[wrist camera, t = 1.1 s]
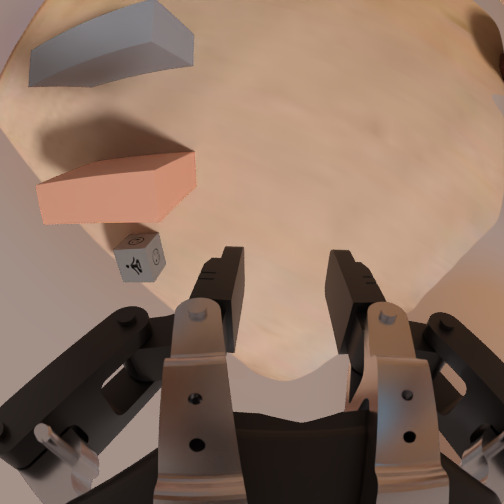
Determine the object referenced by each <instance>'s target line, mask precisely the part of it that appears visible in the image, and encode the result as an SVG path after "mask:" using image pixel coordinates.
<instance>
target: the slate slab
mask: <svg viewBox="0 0 504 504" xmlns="http://www.w3.org/2000/svg"><path fill="white" fill-rule="evenodd" d="M193 52H194V34H193V33H192V32H191V31H190V30H189V29H188V28H187V27H186V26H185V25H184V24H182V23H181V22H180V21H179V20H178V19H177V18H176V17H175V16H174V15H173V14H172V13H171V12H169V11H168V10H167V9H166V8H165V7H164V6H163V5H162V4H160V3H159V2H158V1H157V0H147V1H143V2H140V3H136V4H133V5H130V6H127V7H124V8H121V9H118V10H115V11H112V12H109V13H106V14H104V15H101V16H99V17H96V18H94V19H91V20H89V21H87V22H84V23H82V24H80V25H78V26H76V27H73V28H71V29H69V30H67V31H65V32H63V33H61V34H59V35H57V36H55V37H54V38H52V39H50V40H48V41H46V42H45V43H43V44H41V45H39V46H38V47H36V48H34V49H33V50H31V58H30V69H29V87H48V86H67V87H95V86H98V85H101V84H105V83H108V82H112V81H116V80H120V79H124V78H128V77H132V76H137V75H141V74H146V73H151V72H156V71H162V70H168V69H175V68H182V67H189V66H193Z"/></svg>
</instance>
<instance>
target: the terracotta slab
mask: <svg viewBox="0 0 504 504" xmlns="http://www.w3.org/2000/svg"><path fill="white" fill-rule="evenodd" d="M196 187H197V184H196V165H195V151H194V152H177V153H163V154H152V155H142V156H132V157H124V158H116V159H109V160H102V161H96V162H93V163H90V164H87V165H84V166H82V167H79V168H76V169H74V170H71V171H69V172H66V173H64V174H61V175H59V176H56V177H54V178H51V179H49V180H47V181H44V182H42V183H40V184H38V185H36V190H37V195H38V201H39V206H40V210H41V215H42V219H43V223H44V225H45V224H75V223H129V222H161V221H162V220H163V219H164V218H165V217H166V216H167V215H168V214H169V213H170V212H171V211H172V210H173V209H174V208H175V207H176V206H177V205H178V204H179V203H180V202H181V201H182V200H183V199H184V198H185V197H186V196H187V195H188V194H189V193H190V192H191V191H192V190H193V189H195V188H196Z"/></svg>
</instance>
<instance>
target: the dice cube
mask: <svg viewBox="0 0 504 504" xmlns="http://www.w3.org/2000/svg"><path fill="white" fill-rule="evenodd" d="M113 251H114V255H115V258H116V261H117V264H118V267H119V270H120V273H121V276H122V279H123V282H155V280H156V279H157V277H158V276H159V274H160V273H161V271H162V270H163V268H164V267H165V265H166V261H165V257H164V253H163V249H162V245H161V240H160V236H159V233H147V234H134V235H128V236H127V237H126V238H125V239H124V240H123V241H122V242H121V243H120V244H119V245H118V246H117V247H116V248H115V249H114V250H113Z"/></svg>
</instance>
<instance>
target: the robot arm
mask: <svg viewBox="0 0 504 504" xmlns="http://www.w3.org/2000/svg"><path fill="white" fill-rule="evenodd" d="M244 286H245V274H244V247H231V246H225V249H224V251H223V254H222V257H221V258H211V259H210V260H209V261H207V262H206V263H205V264H204V266H203V268H202V270H201V273H200V275H199V277H198V279H197V282H196V284H195V286H194V289H193V291H192V293H191V296H190V298H189V300H186V301H184V302H182V303H181V304H180V305H179V306H178V307H177V308H176V310H175V314H172V315H169V316H164V317H156V318H149V316H148V313H147V312H146V311H145V310H144V309H142V308H140V307H136V306H130V307H124V308H121V309H119V310H117V311H115V312H114V313H112V314H111V315H110V316H108V317H107V318H106V319H105V320H103V321H102V322H101V323H100V324H98V325H97V326H96V327H95V328H93V329H92V330H91V331H89V332H88V333H87V334H86V335H84V336H83V337H82V338H81V339H80V340H78V341H77V342H76V343H75V344H73V345H72V346H71V347H70V348H68V349H67V350H66V351H65V352H63V353H62V354H61V355H60V356H59V357H57V358H56V359H55V360H54V361H53V362H51V363H50V364H49V365H48V366H47V367H45V368H44V369H43V370H42V371H41V372H40V373H38V374H37V375H36V376H35V377H34V378H33V379H32V380H30V381H29V382H28V383H27V384H26V385H24V387H22V388H21V389H20V390H19V391H18V392H17V393H15V395H13V396H12V397H11V398H10V399H9V400H8V401H6V402H5V403H4V404H3V405H2V406H1V407H0V458H1V459H3V460H4V461H6V462H7V463H8V464H10V465H11V466H13V467H14V468H15V469H17V470H18V471H19V472H20V474H21V475H22V477H23V478H24V480H25V481H26V482H27V484H28V485H29V486H30V488H31V489H32V490H33V491H34V492H35V494H36V495H37V497H38V498H39V499H40V500H41V502H42V503H43V504H502V502H503V501H504V363H503V362H502V361H501V360H500V359H499V358H498V357H497V356H496V355H495V354H494V353H493V352H492V351H491V350H490V349H489V348H488V347H487V346H486V345H485V344H484V343H482V342H481V340H479V339H478V338H477V337H476V336H475V335H474V334H473V333H472V332H470V330H468V329H467V328H466V327H465V326H464V325H463V324H462V323H461V322H459V320H457V319H456V318H455V317H453V316H451V315H450V314H446V313H442V312H438V313H434V314H432V315H431V316H430V318H429V320H428V322H427V324H423V323H418V322H412V321H408V317H407V315H406V313H405V312H404V310H403V309H401V308H400V307H399V306H397V305H395V304H392V303H389V302H386V300H385V298H384V296H383V294H382V292H381V290H380V288H379V286H378V284H376V281H375V279H374V278H373V275H372V273H371V271H370V270H369V268H367V267H366V266H365V265H364V264H362V263H361V262H355V260H354V258H353V256H352V254H351V252H350V251H349V250H331V252H330V256H329V262H328V269H327V275H326V282H325V297H326V301H327V305H328V310H329V314H330V318H331V322H332V327H333V331H334V336H335V340H336V345H337V349H338V354H348V355H349V359H350V364H349V366H348V375H347V389H346V401H345V409H344V412H341V413H337V414H334V415H331V416H327V417H324V418H320V419H317V420H313V421H309V422H304V423H299V422H294V421H289V420H285V419H280V418H276V417H271V416H268V415H263V414H259V413H243V412H233V410H232V402H231V395H230V387H229V380H228V371H227V363H226V353H227V352H229V353H234V352H235V346H236V340H237V334H238V328H239V321H240V315H241V309H242V303H243V297H244ZM445 363H447V364H448V365H449V366H450V367H451V368H452V369H453V370H454V371H455V372H456V373H457V374H458V375H459V376H460V377H461V378H462V380H463V381H464V382H465V384H466V387H467V390H466V394H465V395H464V396H462V395H460V393H459V392H458V391H457V390H456V389H455V388H454V387H453V386H452V384H451V383H450V382H449V381H448V380H447V379H446V378H445V377H444V376H443V375H442V374H441V372H440V371H441V369H442V368H443V366H444V365H445ZM122 364H123V365H124V368H123V369H122V370H121V371H120V372H119V373H118V374H117V375H115V376H114V377H113V378H112V379H111V380H110V381H109V382H108V383H107V384H106V385H105V386H104V387H103V388H102V385H103V383H104V382H105V380H106V379H107V378H109V377H110V376H111V375H112V374H113V373H114V372H115V371H116V370H117V369H118V368H119V367H120V366H121V365H122ZM101 388H102V389H101ZM160 388H161V401H160V417H159V442H158V448H156V449H155V450H153V451H152V452H150V453H149V454H148V455H146V456H145V457H143V458H142V459H140V460H139V461H137V462H136V463H134V464H133V465H131V466H130V467H128V468H127V469H125V470H123V471H122V472H120V473H119V474H117V475H115V476H114V477H112V478H110V479H109V480H107V481H105V482H104V483H102V484H100V485H99V486H97V487H95V488H93V489H91V483H92V480H93V479H94V478H96V477H97V476H98V475H99V459H98V455H99V454H100V453H101V452H102V451H103V450H104V448H106V446H108V444H109V443H110V442H111V441H112V440H113V439H114V438H115V437H116V436H117V435H118V434H119V433H120V432H121V431H122V429H123V428H124V427H125V426H126V425H127V424H128V423H129V422H130V421H131V420H132V419H133V418H134V416H135V415H136V414H137V413H138V412H139V411H140V410H141V409H142V408H143V407H144V405H145V404H146V403H147V402H148V401H149V400H150V399H151V398H152V397H153V396H154V394H155V393H156V392H157V391H158V390H159V389H160ZM438 429H439V430H438ZM439 431H440V432H441V433H442V435H443V436H444V437H445V438H446V440H447V441H448V442H449V444H450V445H451V446H452V447H453V449H454V450H455V451H456V453H457V454H458V455H459V456H460V458H461V460H462V463H461V464H459V466H458V465H457V464H456V463H454V462H453V461H451V460H450V459H449V458H447V457H446V456H445V455H444V454H442V453H441V452H440V442H439Z"/></svg>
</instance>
